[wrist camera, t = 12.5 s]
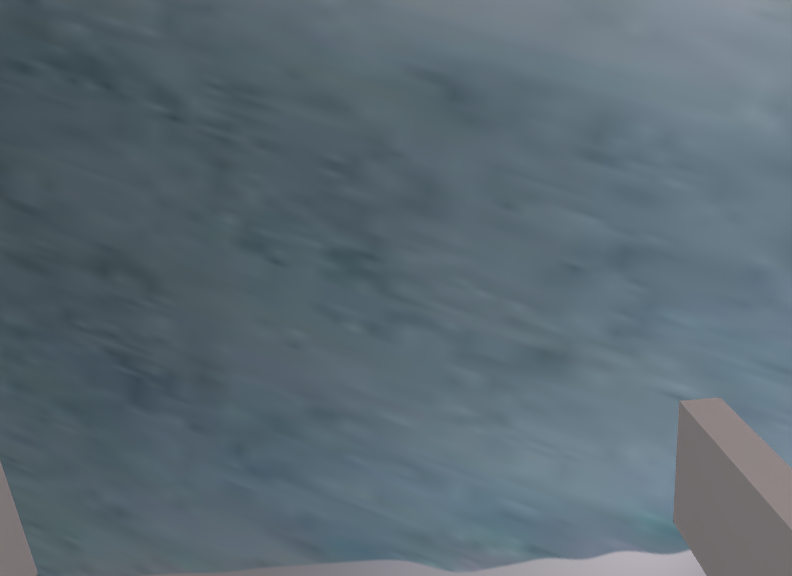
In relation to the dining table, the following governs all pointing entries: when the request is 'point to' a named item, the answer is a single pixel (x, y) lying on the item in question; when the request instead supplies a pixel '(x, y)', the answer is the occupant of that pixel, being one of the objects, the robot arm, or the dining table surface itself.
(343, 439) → the dining table surface
